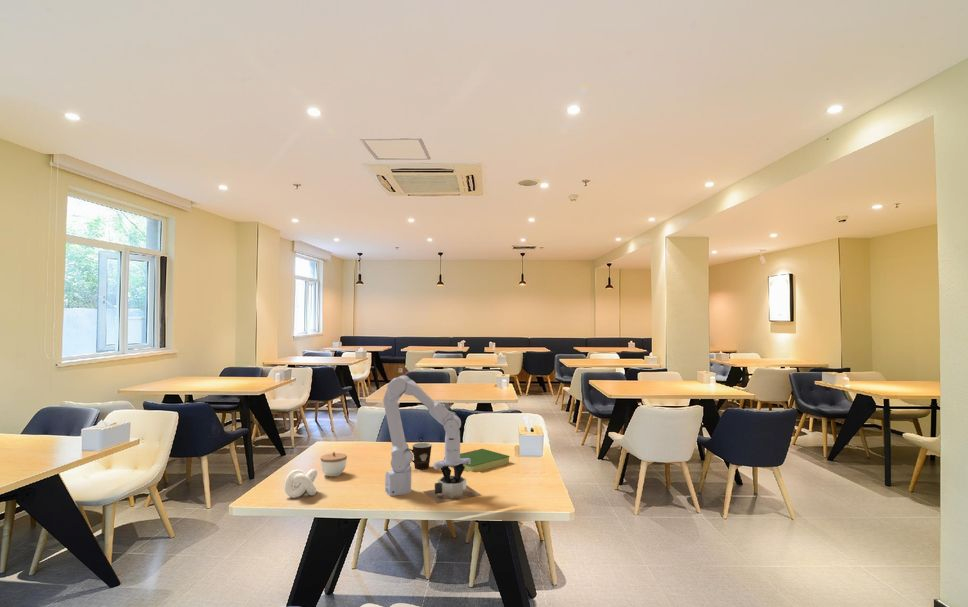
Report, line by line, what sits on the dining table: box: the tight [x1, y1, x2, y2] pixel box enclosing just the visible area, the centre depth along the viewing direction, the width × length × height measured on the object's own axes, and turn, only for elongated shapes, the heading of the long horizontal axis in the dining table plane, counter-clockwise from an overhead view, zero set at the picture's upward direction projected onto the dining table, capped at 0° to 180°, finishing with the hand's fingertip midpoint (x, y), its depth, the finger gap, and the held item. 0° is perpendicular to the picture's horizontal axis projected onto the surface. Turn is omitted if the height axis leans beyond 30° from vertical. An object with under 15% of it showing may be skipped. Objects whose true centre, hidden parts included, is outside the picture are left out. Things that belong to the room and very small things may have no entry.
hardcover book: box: [443, 448, 511, 473], centre depth 220 cm, size 25×19×4 cm
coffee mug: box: [409, 442, 433, 471], centre depth 214 cm, size 12×9×10 cm
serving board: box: [422, 484, 482, 504], centre depth 178 cm, size 18×14×1 cm
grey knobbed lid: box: [450, 477, 456, 484], centre depth 178 cm, size 7×7×5 cm
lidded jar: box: [320, 451, 348, 478], centre depth 203 cm, size 11×11×9 cm
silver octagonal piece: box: [434, 474, 467, 498], centre depth 177 cm, size 12×10×5 cm
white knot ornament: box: [283, 468, 318, 499], centre depth 177 cm, size 11×12×9 cm
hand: (452, 485), depth 178 cm, fingers closed on grey knobbed lid, 3 cm apart
